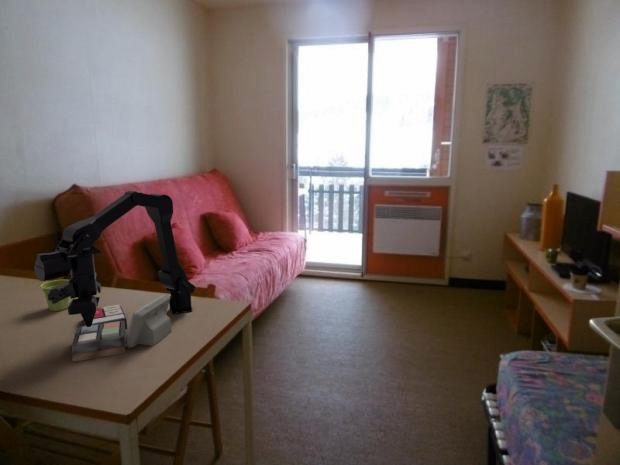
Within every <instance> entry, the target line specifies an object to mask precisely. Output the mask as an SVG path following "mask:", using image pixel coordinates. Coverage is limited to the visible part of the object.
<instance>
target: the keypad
mask: <svg viewBox="0 0 620 465" xmlns="http://www.w3.org/2000/svg"><path fill="white" fill-rule="evenodd" d="M116 322H120V328H119V333H120V335H119V337H112V338H106V339H102V330H103V328H104V324H107V323H102V324H95V325H98V327H99V332H92V333H97V340H93V341H87V342H81V343H78V339H79V336H80V335H84V334H81V329H82V327H86V326H84V325H82V326H81V325H80V326H78V327H76V328H77V329H76V331H75V335H74V338H73V340H72V344H71V350H72V357H71V358H72V362H78V361H85V360H90V359H96V358H102V357H108V356H113V355H121V354H125V353H126V344H125V341H126V337H127V332H126V331H127V329H126V327H125V320H122V321H116ZM109 323H114V322H109ZM92 326H94V325H92ZM86 334H91V333H86Z"/></svg>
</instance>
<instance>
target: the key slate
mask: <svg viewBox="0 0 620 465" xmlns="http://www.w3.org/2000/svg"><path fill="white" fill-rule="evenodd" d="M92 332H99V327H98V325H94V326H91V327H82V329H81V334H86V333H92Z"/></svg>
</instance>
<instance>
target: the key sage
mask: <svg viewBox="0 0 620 465" xmlns="http://www.w3.org/2000/svg"><path fill="white" fill-rule="evenodd" d="M119 335H120V333H119V327H113V328H106V329H103V330H102V339H106V338H112V337H119Z"/></svg>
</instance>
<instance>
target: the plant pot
mask: <svg viewBox="0 0 620 465" xmlns="http://www.w3.org/2000/svg"><path fill="white" fill-rule="evenodd" d="M68 281H69V279H56V280H49V281H46V282H43V283H42V284H41V285H40V288H41V289H42V292H43V293H44V297H45V299H46V304H47V307H48V310H49V311H52V312H57V311H59V312H60V311H63V310H65V309H67V310H68V306H69V303H70V302H71V298H70V296H69V297H67V298H65V299H63V300H61V301H58V303H55V304H53V303H52V302H51V301H49V300H48V295H47V293H48V291H49V290H50V289H52V288H54V287H56V286H58V285H61V284H63V283H65V282H68Z"/></svg>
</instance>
